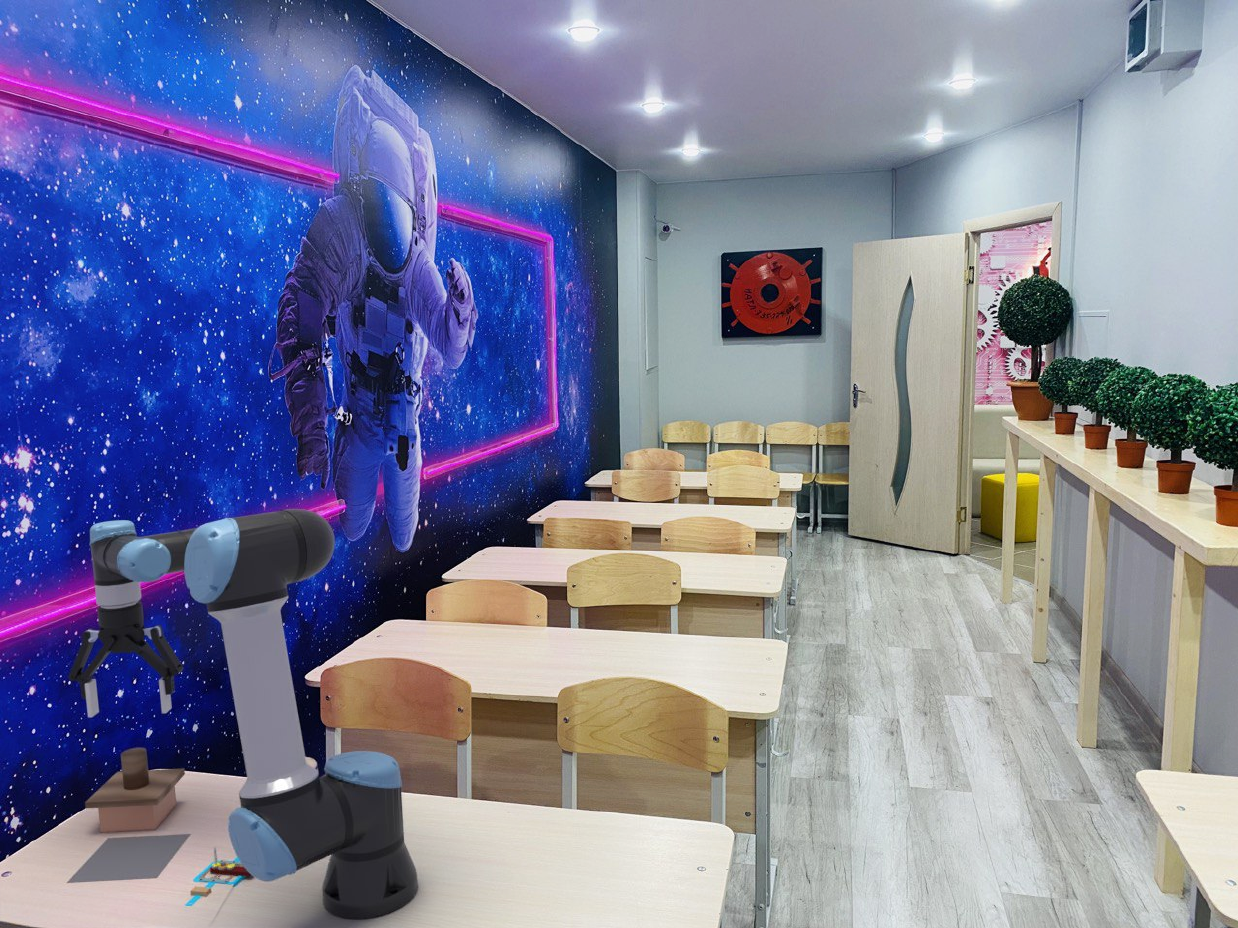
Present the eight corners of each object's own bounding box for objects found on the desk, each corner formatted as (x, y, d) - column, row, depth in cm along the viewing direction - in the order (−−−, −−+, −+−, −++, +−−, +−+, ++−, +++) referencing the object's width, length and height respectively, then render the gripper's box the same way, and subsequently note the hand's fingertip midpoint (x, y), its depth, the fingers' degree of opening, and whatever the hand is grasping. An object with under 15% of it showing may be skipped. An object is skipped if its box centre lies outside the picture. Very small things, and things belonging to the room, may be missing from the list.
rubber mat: (157, 880, 165) (156, 877, 165) (66, 885, 164) (66, 882, 164) (191, 836, 180) (190, 833, 180) (108, 840, 179) (108, 837, 179)
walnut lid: (157, 804, 180) (153, 765, 179) (85, 808, 179) (81, 768, 178) (184, 774, 193) (181, 736, 192) (117, 777, 192) (114, 740, 191)
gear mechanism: (284, 850, 175) (236, 846, 177) (281, 821, 174) (234, 818, 176) (218, 914, 156) (166, 909, 157) (216, 882, 155) (163, 878, 157)
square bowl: (155, 831, 182) (152, 801, 181) (100, 834, 182) (97, 804, 181) (176, 806, 192) (174, 777, 191) (124, 809, 192) (122, 780, 191)
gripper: (195, 595, 186) (204, 701, 188) (61, 601, 185) (72, 709, 187) (179, 605, 178) (189, 716, 181) (40, 612, 177) (52, 723, 180)
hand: (130, 712), depth 184 cm, fingers open, 13 cm apart
